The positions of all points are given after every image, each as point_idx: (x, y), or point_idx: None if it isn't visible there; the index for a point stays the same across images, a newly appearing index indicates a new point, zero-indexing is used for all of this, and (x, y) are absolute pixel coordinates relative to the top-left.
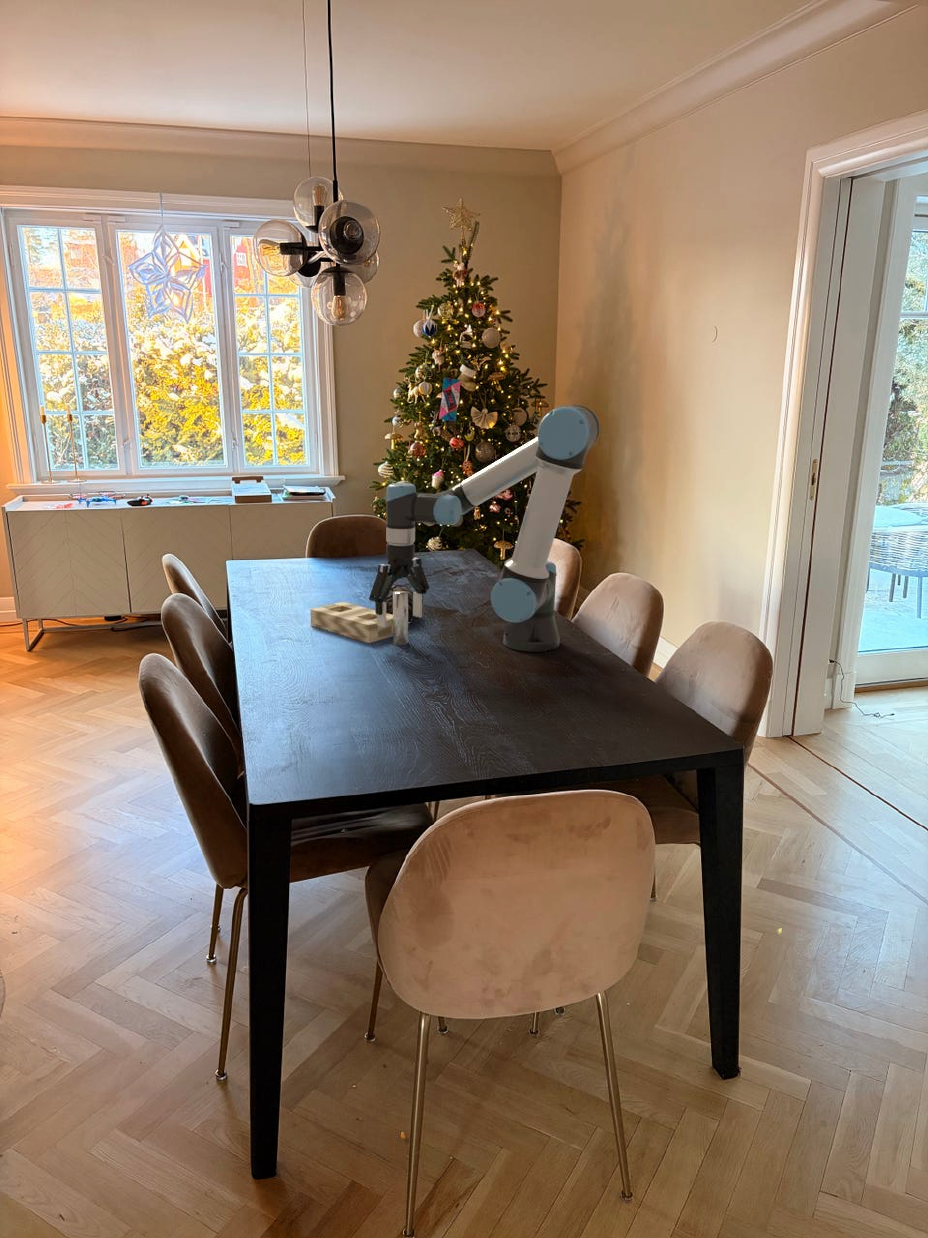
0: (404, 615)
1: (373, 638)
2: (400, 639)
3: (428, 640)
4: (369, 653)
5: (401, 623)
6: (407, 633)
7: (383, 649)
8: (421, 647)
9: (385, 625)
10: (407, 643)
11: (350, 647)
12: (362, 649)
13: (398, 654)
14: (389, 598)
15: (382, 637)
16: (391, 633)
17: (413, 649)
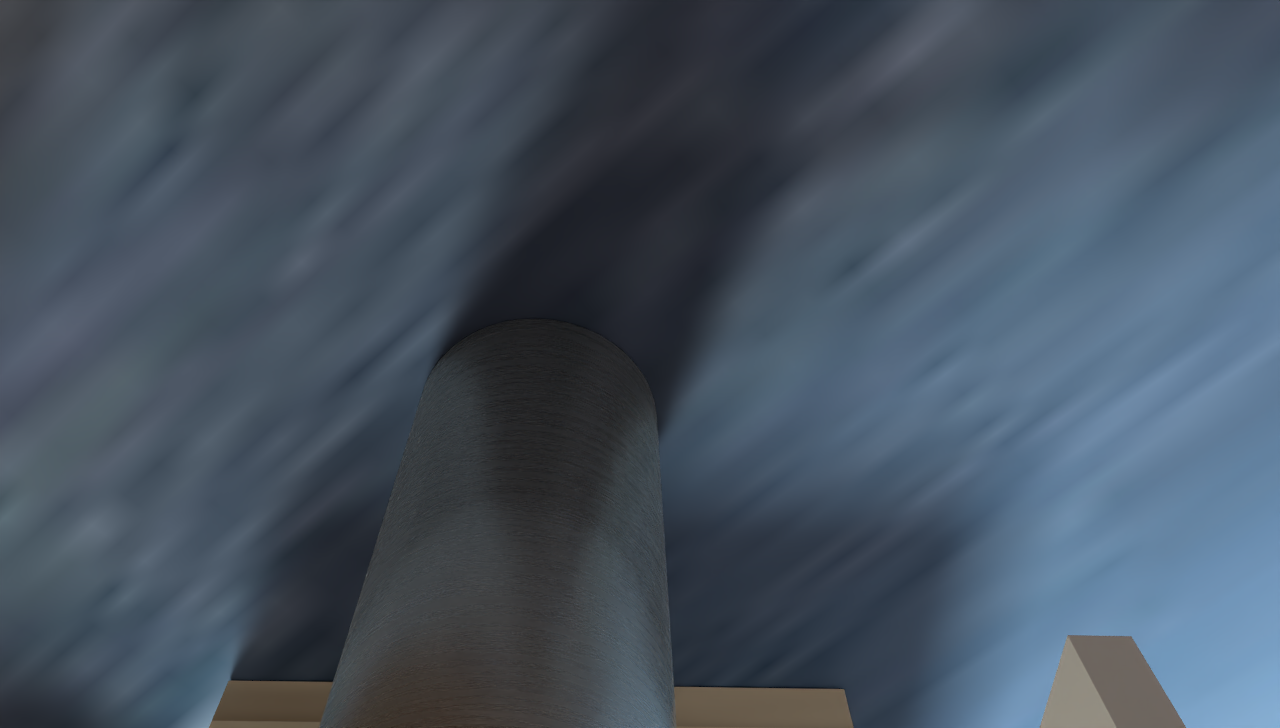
0: (532, 715)
1: (762, 725)
2: (624, 406)
3: (64, 202)
4: (1248, 407)
5: (614, 593)
6: (465, 423)
7: (964, 394)
8: (457, 8)
9: (1101, 659)
10: (488, 328)
11: None
12: (1126, 581)
13: (1064, 38)
14: None
15: None
16: None
17: (655, 37)
